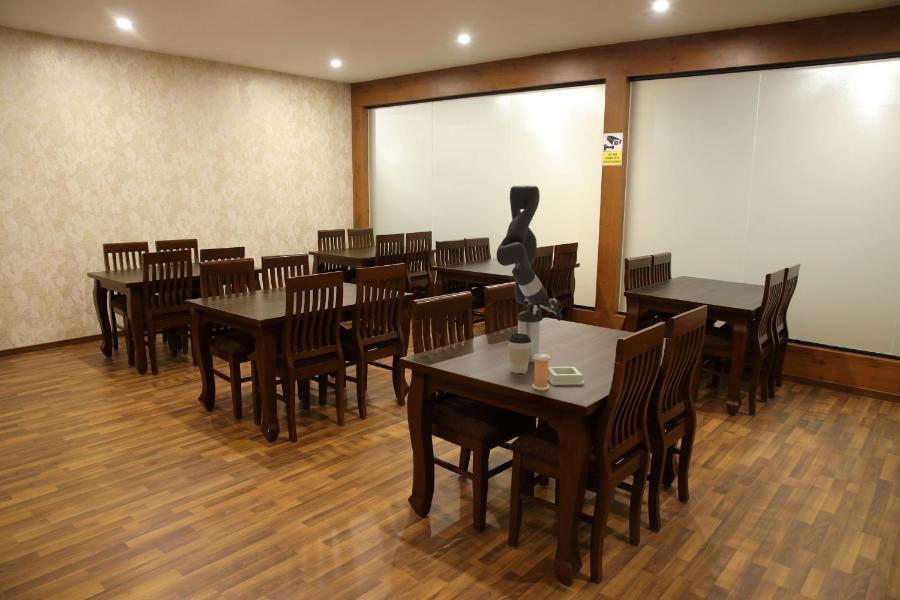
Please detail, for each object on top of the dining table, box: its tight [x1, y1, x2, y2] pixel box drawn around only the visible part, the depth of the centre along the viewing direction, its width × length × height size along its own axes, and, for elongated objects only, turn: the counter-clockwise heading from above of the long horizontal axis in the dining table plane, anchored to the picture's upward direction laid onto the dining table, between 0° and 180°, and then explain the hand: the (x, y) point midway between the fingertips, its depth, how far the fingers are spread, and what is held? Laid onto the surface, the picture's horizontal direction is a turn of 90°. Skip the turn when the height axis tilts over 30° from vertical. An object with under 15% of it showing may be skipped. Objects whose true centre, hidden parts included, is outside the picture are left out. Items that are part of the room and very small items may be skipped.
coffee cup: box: [507, 333, 531, 374], centre depth 237 cm, size 9×9×15 cm
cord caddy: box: [548, 366, 585, 386], centre depth 227 cm, size 12×12×4 cm
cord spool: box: [531, 353, 551, 391], centre depth 217 cm, size 6×6×12 cm
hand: (550, 319), depth 226 cm, fingers open, 8 cm apart
